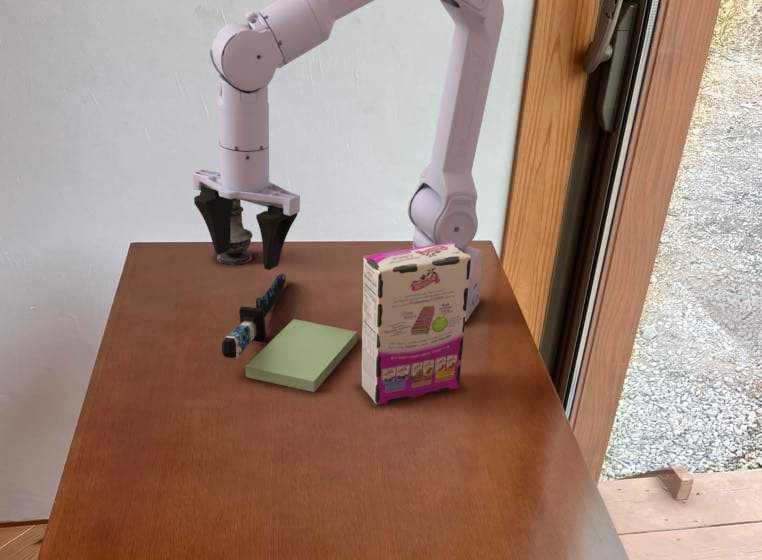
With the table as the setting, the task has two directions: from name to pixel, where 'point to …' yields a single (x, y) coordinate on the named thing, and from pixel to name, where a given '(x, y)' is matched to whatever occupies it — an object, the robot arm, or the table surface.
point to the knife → (252, 321)
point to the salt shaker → (237, 239)
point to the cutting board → (302, 355)
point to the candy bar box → (413, 321)
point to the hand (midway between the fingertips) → (246, 259)
